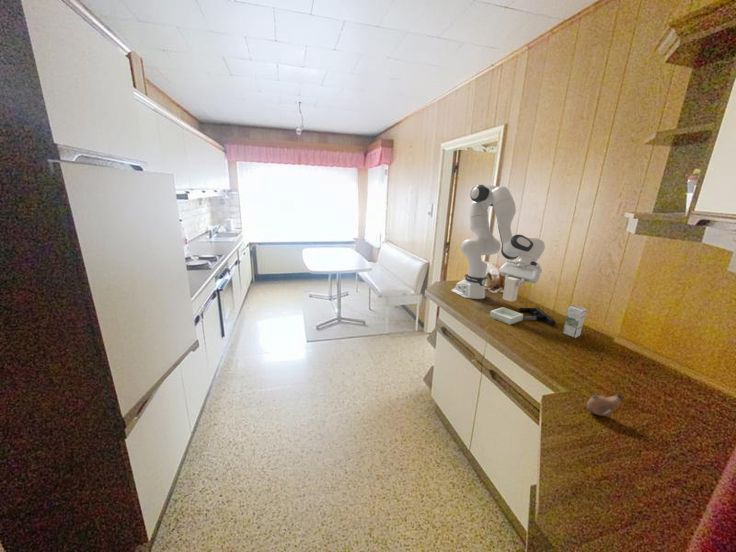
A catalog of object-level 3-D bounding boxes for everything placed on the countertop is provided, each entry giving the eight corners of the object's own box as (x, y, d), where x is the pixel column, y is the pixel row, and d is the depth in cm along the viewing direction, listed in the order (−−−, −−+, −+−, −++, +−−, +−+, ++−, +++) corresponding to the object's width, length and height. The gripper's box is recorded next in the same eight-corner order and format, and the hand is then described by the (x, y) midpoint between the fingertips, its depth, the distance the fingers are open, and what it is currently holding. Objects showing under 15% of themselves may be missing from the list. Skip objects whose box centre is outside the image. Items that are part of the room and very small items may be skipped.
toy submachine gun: (526, 320, 151) (558, 320, 149) (512, 306, 170) (540, 306, 168) (525, 325, 152) (557, 326, 150) (511, 311, 171) (540, 311, 169)
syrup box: (580, 335, 140) (587, 308, 136) (574, 338, 137) (581, 310, 133) (567, 330, 145) (574, 304, 141) (561, 333, 142) (568, 306, 138)
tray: (489, 316, 159) (490, 310, 158) (501, 312, 165) (502, 306, 164) (509, 325, 149) (510, 318, 148) (522, 320, 156) (523, 314, 155)
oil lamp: (613, 412, 90) (620, 391, 88) (621, 422, 86) (629, 400, 84) (582, 408, 91) (588, 387, 89) (589, 417, 87) (596, 395, 85)
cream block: (502, 298, 155) (505, 277, 151) (507, 297, 157) (511, 276, 154) (511, 301, 151) (514, 280, 147) (516, 300, 153) (520, 278, 150)
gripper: (504, 257, 160) (492, 275, 158) (542, 264, 144) (528, 285, 141) (508, 264, 164) (495, 282, 161) (545, 272, 148) (531, 292, 145)
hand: (511, 284), depth 151 cm, fingers closed on cream block, 5 cm apart
